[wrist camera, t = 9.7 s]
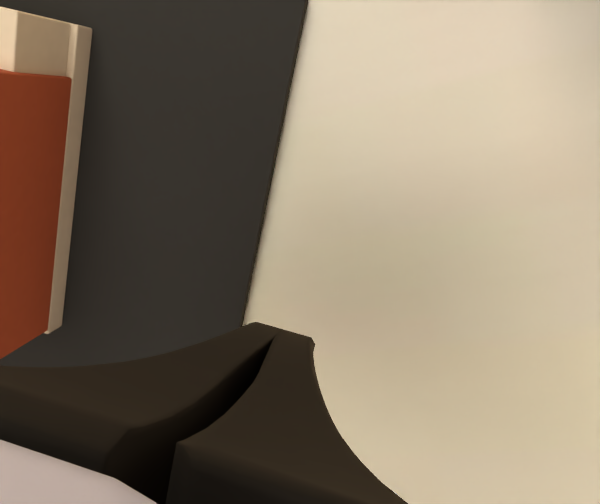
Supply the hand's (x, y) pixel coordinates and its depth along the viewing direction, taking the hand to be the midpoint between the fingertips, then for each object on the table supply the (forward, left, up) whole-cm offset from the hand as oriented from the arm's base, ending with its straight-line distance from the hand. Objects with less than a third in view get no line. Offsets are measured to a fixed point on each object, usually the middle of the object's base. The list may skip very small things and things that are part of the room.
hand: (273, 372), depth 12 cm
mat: (0, +11, -10) cm, 15 cm away
